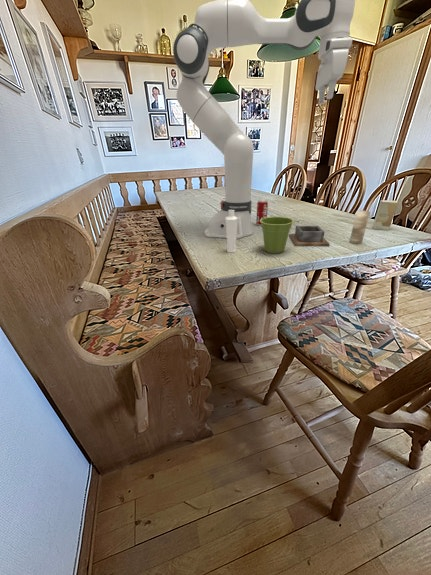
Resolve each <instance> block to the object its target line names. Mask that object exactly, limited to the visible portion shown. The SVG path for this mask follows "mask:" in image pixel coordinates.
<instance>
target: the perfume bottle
mask: <svg viewBox="0 0 431 575" xmlns="http://www.w3.org/2000/svg"><path fill="white" fill-rule="evenodd" d="M228 211H229V216H228V217H226V218H225V221H226V235H227V238H226V252H227V253H236V251H237V247H236V245H237V239H236V236H237V224H238V218H237V217H235V216H234V211H235V210H228Z"/></svg>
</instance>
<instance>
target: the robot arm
mask: <svg viewBox="0 0 431 575" xmlns="http://www.w3.org/2000/svg"><path fill="white" fill-rule="evenodd" d="M355 5H356V0H299V4H298V5H297V8H296V10H295V12H294V15H292V16H290V17H288V18H267V17H264V16H261V14H260V13H259V12H258V11H257V10H256V9H255V6H254V4H253V3H252V2H251V1H250V0H212V1H209V2H206V3H204V4H201V5H200V6H199V7H198V8H197V10H196V12H195V16H194V23H191V24H189V26H187V28H185V29H183V30H182V31H181V32H180V33H178V35H177V36H176V37H175V40H174V41H173V49H172V50H173V60H174V62H175V65H176V67H177V68H178V70H179V72H180V74H181V82H180V83H179V85H178V87H177V90H176V100H177V102H178V104H179V106H180V108H181V109H182V110H183V111H184V113H185V114H186V116H187V117H188V118H189V119H190V120H191V121H192V123H193V124H194V125H195V126H196V127H197V128H198V129H199V131H201V133H202V134H203V135H204V136H205V137H206V138H207V139H208V140H209V141H210V142H211V143H212V144H213V146H215V147H216V149H218V150H219V151H220V153H221V154H222V155H223V158H224V182H225V183H224V190H225V192H224V194H225V195H224V196H225V198H224V199H225V200H221V201H220V210H219V211H218V212H217V213H216V214H214V215H213V216H212V217H211V218H210V220H209V222H208V224H209V225H208V227H207V228H205V230H204V232H203V234H204V236H205V237H207V238H225V239H227V235H226V221H225V218H226V217H228V216H229V211H228V210H235V211H234V216H235V217H237V218H238V224H237V236H236V240H238V239H241V238H243V237H248V236H251V235H252V234H254V230H253V226H252V211H253V207H252V206H253V203H252V200H251V199H252V198H251V197H252V180H253V162H254V161H253V160H254V144H253V142H252V139H251V137H250V136H248V135H247V134H245V133H244V132H243V131H242V130H241V129H240V127H239V126H238V125H237V124H236V122H235V121H234V120H233V119H232V117H231V116H230V114H228V113H227V111H226V110H225V108H223V107H222V105H221V104H220V103H219V102H218V101H217V99H216V98H215V97H214V96H213V95H212V94H211V93H210V91H209V90H208V88H206V86H205V83H206V81H207V80H206V79H207V78H208V74H209V73H210V72H209V70H210V59H209V57H210V56H209V55H210V54H211V53H212V52H213V51H214V50H217V49H219V48H222V49H223V48H224V49H225V48H236V47H243V46H251V45H286V46H288V47H291V48H292V49H294V50H296V51H304V50H307V49H308V48H310V47H311V46H312V44H314V42H315V41H316V38H317V36H318V37H319V38H320V40H319V46H318V54H317V58H318V60H320V65H319V67H318V70H317V75H316V82H315V91H318V104H319V105H323V104H324V103H325V101H326V100H331V99H333V97H334V92H335V90H336V86H337V83H338V81H339V80H340V79H342V78H343V76H344V74H345V71H346V66H347V62H348V58H349V52H350V49H351V47H352V45H353V37H350V36H351V35H350V34H351V30H350V29H351V22H352V20H353V17H354V11H355ZM327 89H328V90H327ZM325 99H326V100H325Z"/></svg>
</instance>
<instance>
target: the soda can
mask: <svg viewBox="0 0 431 575" xmlns="http://www.w3.org/2000/svg"><path fill="white" fill-rule="evenodd" d="M268 209H269V202H268V199H258V201H257V203H256V221H255V222H256V223H255V224H256V225H257V226H260V227H262V224H261V222H260V220H261V219H263V218H267V217H268Z"/></svg>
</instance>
